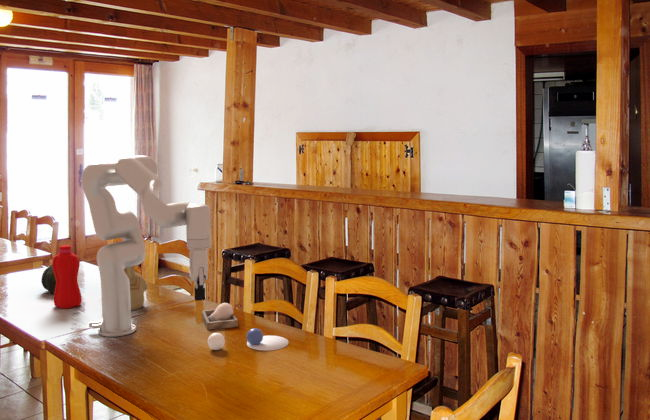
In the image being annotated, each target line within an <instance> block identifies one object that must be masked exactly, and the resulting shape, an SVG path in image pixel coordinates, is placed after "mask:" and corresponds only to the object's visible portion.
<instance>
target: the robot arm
mask: <svg viewBox="0 0 650 420" xmlns="http://www.w3.org/2000/svg"><path fill="white" fill-rule="evenodd" d="M158 170H159V169H158V165H157V162H156V161H155V159H153V158H152V157H151V156H148V155H128V156H124V157H121V158H119V160H116V161H115V160H114V161H99V162H93V163H90V164H88V165H87V166H86V167H85V168H84V169H83V171H82V174H81V178H80V179H81V180H80V181H81V187H82V190H83V192H84V195H85V197H86V201H87V202H88V205H89V206H88V207H89V212H90V215H91V220H92V224H93V229H94V232H95V235H96V236H97V238H98V239H99V240H102V241H110V240H111V241H112V240H115V239H121V241H118V242H112V243H108V244H105V245H103V246H102V247H100V249H98V251H97V253H96V263H97V266H98V271H99V278H100V291H101V293H100V294H101V310H102V311H101V312H102V313H101V314H102V317H101V319H100V320H98V321H89V322H88V325H89V326H88V327H89V328H92V329H94V330H95V329H98V331H97V332H98V334H99V335H100V336H103V337H106V338H107V337H108V338H109V337H113V338H116V337H122V336H127V335H130V334H133V333H134V332H135V331H136V330H137V325H135V324H134V323H132V310H131V302H130V282H129V278H128V276H127V275H126V273H125V271H124V269H125V268H128V267H132V266H134V267H136V266H138V265H141V264H142V263H143V262H144V261H145V259H146V248H145V247H146V246H145V242H144V237H143V233H142V228H141V225H140V221H139V219H138V217H137V216H136V215H135V214H134V213H133V212H132V211H131V210H118V209H117V206H116V201H115V198H114V197H113V195H112V194H111V192H110V191H109V190H108V189H107V188H106V187H114V186H124V185H127V186H128V187H129V188H131V190H133V191H134V192H135V193H136V194H138V196H139V197H140V201H141V207H142V209H143V211H144V213H145V214H146V216H147V217H148V218H149V219H150V220H152V222H154V223H155V224H156V225H158V226H159V227H161V228H165V229H172V228H176V227H181V226H182V227H183V226H185V227H186V249H187V250H189V273H188V274H189V277H190V279H191V281H192V282H194V289H193V290H194V300H195V301H196V302H197V301H205V300H206V287H205V286H206V285H205V283H206V281H207V280H208V278H209V277H208V275H209V263H208V262H209V260H208V259H209V257H208V255H209V254H208V250H209V249H211V248H212V229H211V227H212V225H211V222H212V221H211V220H212V219H211V207H210V206H209V205H208V204H204V203H201V204H200V203H193V202H190V201H181V202H172V203H165V202H164V201H163V200H161V199H160V198H159V197H158V195H159V194H160V192H161V190H162V188H163V187H162V186H163V181H162V179H161V178H159V177H158V176H157V174H158Z"/></svg>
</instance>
